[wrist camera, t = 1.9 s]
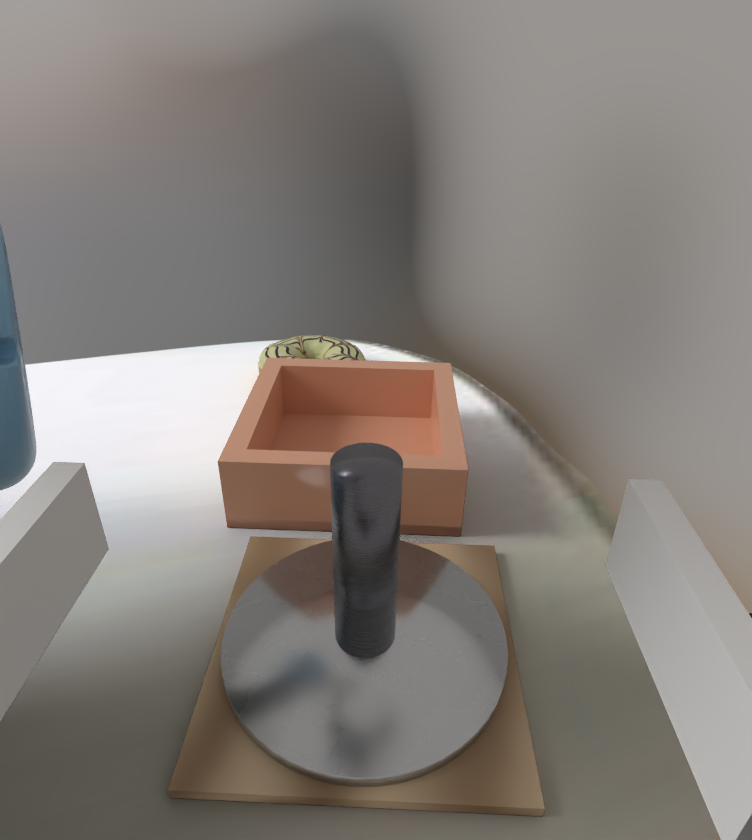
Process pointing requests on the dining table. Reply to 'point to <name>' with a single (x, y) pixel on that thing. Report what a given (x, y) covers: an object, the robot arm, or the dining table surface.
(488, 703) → the lid
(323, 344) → the decorated donut
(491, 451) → the dining table surface
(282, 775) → the trivet
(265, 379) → the terracotta square tray
